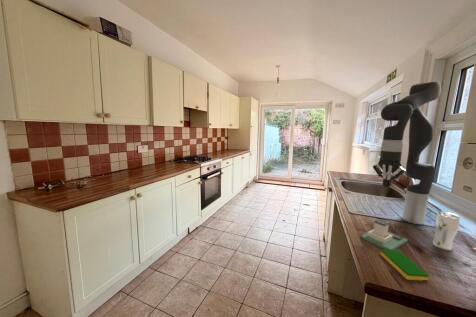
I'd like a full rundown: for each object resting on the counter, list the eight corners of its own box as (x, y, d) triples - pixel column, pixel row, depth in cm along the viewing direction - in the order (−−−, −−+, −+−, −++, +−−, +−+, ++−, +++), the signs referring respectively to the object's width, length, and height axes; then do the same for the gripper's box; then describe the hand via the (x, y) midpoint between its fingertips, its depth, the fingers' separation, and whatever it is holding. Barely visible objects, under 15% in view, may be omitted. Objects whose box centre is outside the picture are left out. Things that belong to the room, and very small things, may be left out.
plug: (376, 234, 92) (379, 218, 91) (386, 238, 89) (389, 222, 88) (372, 236, 90) (374, 220, 89) (382, 241, 87) (385, 224, 86)
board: (378, 229, 99) (378, 224, 98) (407, 241, 89) (408, 235, 88) (360, 237, 91) (361, 231, 91) (390, 252, 81) (391, 245, 80)
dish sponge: (397, 255, 79) (398, 250, 79) (428, 281, 66) (429, 275, 65) (379, 254, 80) (380, 249, 79) (406, 280, 66) (407, 274, 66)
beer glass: (450, 253, 81) (457, 219, 79) (428, 244, 87) (434, 212, 85) (456, 248, 85) (463, 216, 82) (434, 240, 91) (440, 210, 88)
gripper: (413, 151, 83) (407, 189, 86) (378, 148, 94) (374, 182, 97) (406, 152, 79) (400, 192, 82) (370, 149, 91) (366, 184, 93)
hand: (386, 186), depth 90 cm, fingers closed
